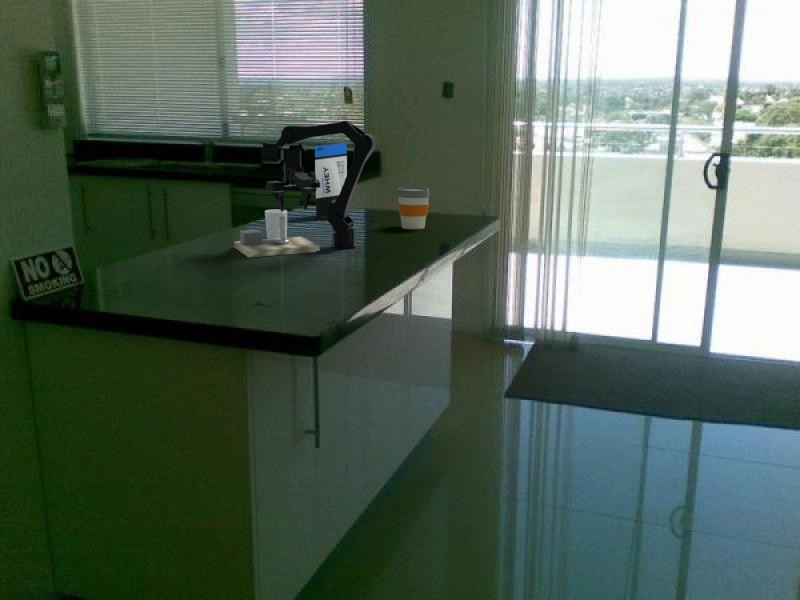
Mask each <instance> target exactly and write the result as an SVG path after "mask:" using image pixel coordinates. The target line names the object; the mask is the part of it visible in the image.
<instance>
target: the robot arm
mask: <svg viewBox="0 0 800 600" xmlns="http://www.w3.org/2000/svg"><path fill="white" fill-rule="evenodd" d="M337 134H343V135H345V137H347V139H349V141H351V142H352V143H353V144H354V149H353V156H352V161H351V164H350V167H349V169H348V170H347V176H346V179H345V181H344V184H343V186H342V189H341V192H340V194H339V197H338V198H337V200H333V201H331V202H330V204H329V209H328V210H327V211H326V213H328V214H327V220H326V221H327V222H328V223H329V224H330V225H331V228H332V233H331V247H333V248H335V249H337V250H343V249H355V248H356V245H354V244H355V243H354V242H355V241H354V229H353V227H354V225H355V221H354V220H353V218H352V217H350V216H349V213H350V212H349V211H350V206H351V199H352V196H353V195H354V191H355V189H356V187H357V184H358V181H359V179H360V176H361V173H362V171H363V169H364V166H365V164H366V162H367V161H368V160H369V158H370V156H371V155H372V153H373V152H374V151H375V148H376V146H377V142H378V141H377V139H376V137H375V136H374V135H373V134H371V133H366V132H365V131H364V130H363V129H361V128H359V127H358V126H356V125H354V124H353V123H352V122H351V121H350V120H342V121H339V122H333V123H326V124H318V125H297V124H296V125H294V124H293V125H287V126H285V127H283V129H282V130H281V135H280V136H279V139H278V140H277V141H276V143H275V142H274V143H273V142H272V143H271V142H263V143H262V147H261V150H260V161H261V162H262V164H281V162H282V161H283V166H281V171H282V170H283V174H284V176H283V177H284V178H282V181H278V180H272V181H271V180H270V181H266V183H265V185H264V186H265V188H264V189H265V191H268V193H271V195H272V197H273V198H274V200H275V202H276V203H277V206H278V208H279V209H280V210H281V211H282V212H283V211H284V210H285V209H284V208H285V206H284V204H285V203H284V196H285V194H286V191H284V189H290V188H298V189H300V190H301V199H302V207H303V209H304V210H307V208H308V205H309V203H310V199H311V197H312V195H313V193H314V192H316V190H317V189H316V188H320V181H319V180H318V179H316V174H315V171H314V172H313V171H311V172H308V173H305V169H304V167H303V166H302V151H307V150H308V148H307V146H305V145H304V143H303V142H302V141H305V140H308V139H312V138H317V137H323V136H329V135H330V136H331V135H337ZM297 143H299V144H297ZM295 144H296V145H295ZM286 146H288V147H286Z"/></svg>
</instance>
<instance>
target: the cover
mask: <svg viewBox="0 0 800 600" xmlns="http://www.w3.org/2000/svg"><path fill="white" fill-rule="evenodd" d="M262 239H263V232H262V231H261V230H259V229H249V230H245V229H244V230H239V241H240V243H242V244H243V245H244V246H248V245H262Z"/></svg>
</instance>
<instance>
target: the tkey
mask: <svg viewBox="0 0 800 600" xmlns="http://www.w3.org/2000/svg"><path fill="white" fill-rule="evenodd" d="M279 221H280V239H270V240H262V243H278V244H287V243H289V240H287V239H285V216H280V219H279Z"/></svg>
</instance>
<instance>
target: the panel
mask: <svg viewBox="0 0 800 600" xmlns="http://www.w3.org/2000/svg"><path fill="white" fill-rule="evenodd" d="M275 239H280V238H275ZM285 239H287V240H289V243H287V244H278V243H262V245H248V246H244V245H243V244H242V243H240V240H237V241H235V240H234V241H233V247H234V248H235V250H237V251H239V252H240V253H241V254H242V255H244V256H246V257H247V258H256V257H257V258H258V257H269V256H271V257H272V256H284V255H294V254H308V252H309V253H317V252H316V251H321V249H320V248H321V247H320V245H319V244H317V243H315V242H313V241H311V240H309V239H307V238H306V237H303V236H292V237H286V238H285ZM262 240H270V239H268V238H266V239H263V238H262Z"/></svg>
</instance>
